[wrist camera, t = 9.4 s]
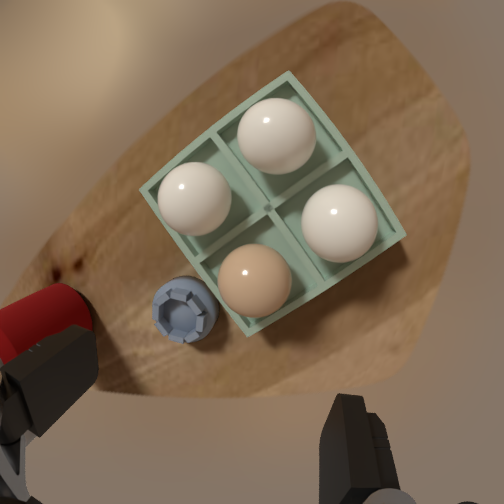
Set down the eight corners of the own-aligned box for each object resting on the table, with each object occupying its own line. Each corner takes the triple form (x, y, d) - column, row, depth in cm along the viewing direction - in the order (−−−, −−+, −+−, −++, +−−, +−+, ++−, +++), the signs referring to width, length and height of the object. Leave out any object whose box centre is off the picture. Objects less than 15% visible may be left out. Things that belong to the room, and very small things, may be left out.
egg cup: (186, 342, 25) (175, 358, 23) (149, 295, 25) (134, 307, 22) (231, 315, 24) (223, 330, 21) (192, 263, 24) (179, 272, 21)
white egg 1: (200, 242, 21) (174, 258, 17) (163, 191, 21) (130, 194, 16) (252, 204, 20) (237, 210, 16) (212, 150, 19) (188, 142, 15)
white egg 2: (272, 189, 19) (263, 191, 15) (231, 135, 19) (212, 123, 15) (329, 149, 18) (336, 140, 14) (286, 95, 18) (281, 72, 14)
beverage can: (41, 300, 28) (-40, 345, 16) (68, 267, 26) (-29, 310, 14) (77, 351, 28) (4, 411, 17) (108, 324, 26) (23, 392, 15)
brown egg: (253, 312, 21) (240, 343, 17) (214, 261, 21) (192, 282, 17) (306, 278, 20) (306, 304, 16) (267, 223, 20) (256, 236, 16)
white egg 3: (326, 266, 20) (331, 288, 16) (287, 210, 19) (282, 217, 15) (382, 228, 19) (402, 240, 14) (344, 170, 18) (355, 166, 14)
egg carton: (254, 319, 24) (247, 337, 21) (157, 188, 23) (138, 189, 20) (394, 228, 20) (406, 234, 18) (291, 84, 19) (288, 70, 17)
